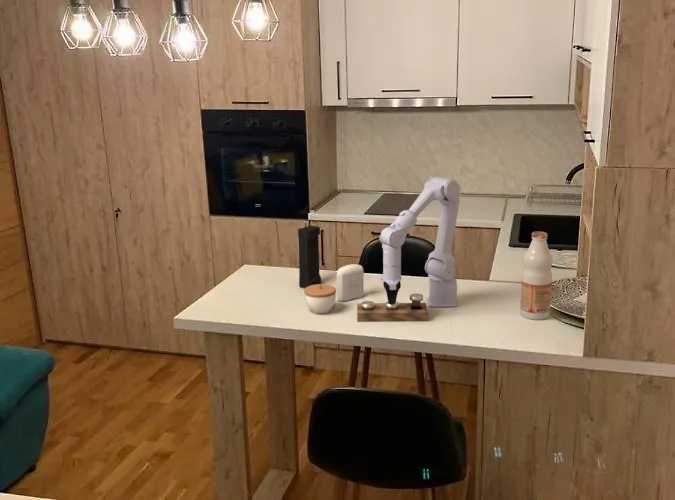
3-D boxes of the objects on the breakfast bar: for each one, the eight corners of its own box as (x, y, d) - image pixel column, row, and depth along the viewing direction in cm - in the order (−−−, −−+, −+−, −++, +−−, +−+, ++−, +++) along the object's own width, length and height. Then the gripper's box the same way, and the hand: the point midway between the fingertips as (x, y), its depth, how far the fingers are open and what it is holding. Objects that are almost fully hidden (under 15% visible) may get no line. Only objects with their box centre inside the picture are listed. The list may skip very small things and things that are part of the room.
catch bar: (425, 311, 244) (425, 302, 243) (427, 321, 236) (428, 312, 235) (357, 311, 245) (357, 303, 244) (357, 321, 236) (357, 313, 236)
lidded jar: (337, 305, 252) (336, 279, 249) (335, 316, 241) (334, 289, 239) (306, 305, 252) (305, 279, 250) (303, 316, 242) (302, 289, 239)
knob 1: (374, 313, 243) (374, 300, 241) (374, 318, 238) (374, 305, 237) (361, 313, 243) (361, 301, 241) (361, 318, 238) (361, 305, 237)
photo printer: (358, 293, 263) (358, 261, 259) (365, 296, 259) (365, 263, 256) (334, 299, 257) (334, 266, 254) (341, 302, 254) (341, 269, 250)
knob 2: (422, 305, 241) (422, 293, 240) (423, 310, 237) (423, 297, 236) (409, 305, 241) (409, 293, 240) (410, 310, 237) (410, 298, 236)
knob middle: (398, 313, 242) (398, 300, 241) (398, 318, 238) (399, 305, 237) (385, 313, 242) (385, 301, 241) (385, 318, 238) (385, 305, 237)
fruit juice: (515, 316, 238) (519, 234, 230) (526, 308, 245) (531, 228, 237) (543, 322, 233) (548, 238, 225) (553, 313, 240) (559, 231, 232)
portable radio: (310, 281, 277) (308, 217, 270) (323, 284, 273) (321, 219, 266) (297, 287, 271) (295, 222, 264) (310, 290, 267) (308, 224, 260)
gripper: (379, 257, 242) (379, 296, 246) (380, 271, 228) (380, 311, 232) (400, 257, 242) (399, 295, 246) (402, 270, 228) (402, 311, 232)
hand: (391, 303), depth 239 cm, fingers closed, pressing on knob middle
